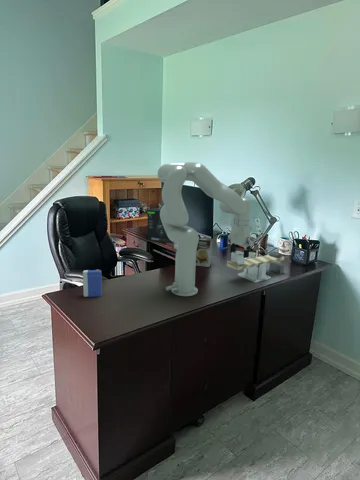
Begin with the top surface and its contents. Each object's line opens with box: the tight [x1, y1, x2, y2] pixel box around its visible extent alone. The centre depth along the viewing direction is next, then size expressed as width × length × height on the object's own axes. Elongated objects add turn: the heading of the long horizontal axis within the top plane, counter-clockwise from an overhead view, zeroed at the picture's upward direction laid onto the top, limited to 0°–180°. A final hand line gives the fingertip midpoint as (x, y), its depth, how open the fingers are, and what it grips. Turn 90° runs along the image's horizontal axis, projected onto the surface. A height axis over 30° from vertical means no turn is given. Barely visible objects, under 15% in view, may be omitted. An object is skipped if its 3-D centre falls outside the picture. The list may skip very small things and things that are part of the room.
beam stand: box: [237, 257, 285, 284], centre depth 187 cm, size 26×13×9 cm, turn 124°
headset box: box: [147, 206, 175, 244], centre depth 257 cm, size 22×12×26 cm, turn 73°
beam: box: [226, 251, 285, 271], centre depth 183 cm, size 36×8×4 cm, turn 124°
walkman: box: [82, 269, 103, 298], centre depth 153 cm, size 8×3×12 cm, turn 96°
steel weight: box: [230, 250, 246, 265], centre depth 174 cm, size 5×5×6 cm
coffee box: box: [196, 237, 213, 268], centre depth 201 cm, size 9×6×16 cm
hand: (239, 254), depth 174 cm, fingers open, 9 cm apart
